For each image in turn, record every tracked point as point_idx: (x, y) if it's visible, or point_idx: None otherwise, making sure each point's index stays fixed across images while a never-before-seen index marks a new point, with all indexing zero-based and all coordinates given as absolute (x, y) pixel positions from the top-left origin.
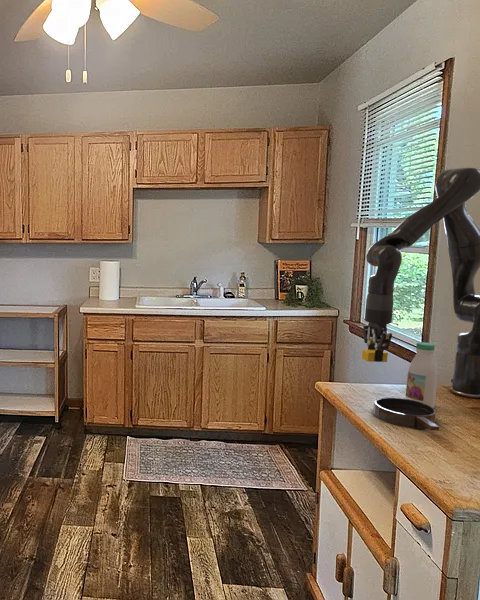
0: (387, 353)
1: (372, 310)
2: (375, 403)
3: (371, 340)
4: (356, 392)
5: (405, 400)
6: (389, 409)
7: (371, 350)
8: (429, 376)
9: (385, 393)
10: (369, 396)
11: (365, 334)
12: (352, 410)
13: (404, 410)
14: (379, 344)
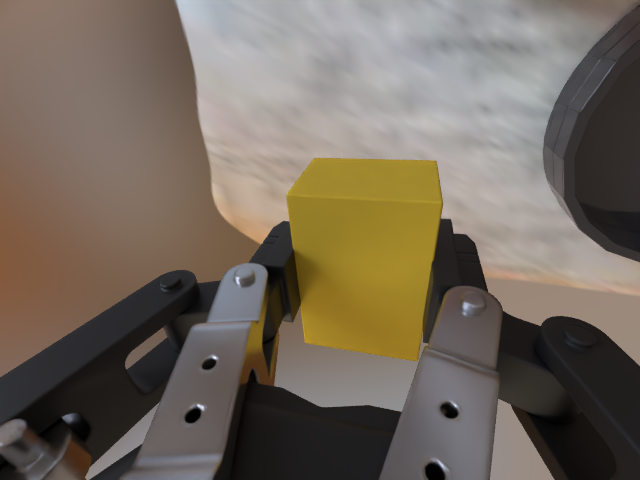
0: (442, 202)
1: None
2: (636, 259)
3: (269, 378)
4: None
5: (632, 56)
6: (588, 145)
7: (332, 300)
8: None
9: (315, 22)
10: (369, 134)
11: (138, 420)
12: (534, 279)
13: (630, 69)
14: (557, 460)
